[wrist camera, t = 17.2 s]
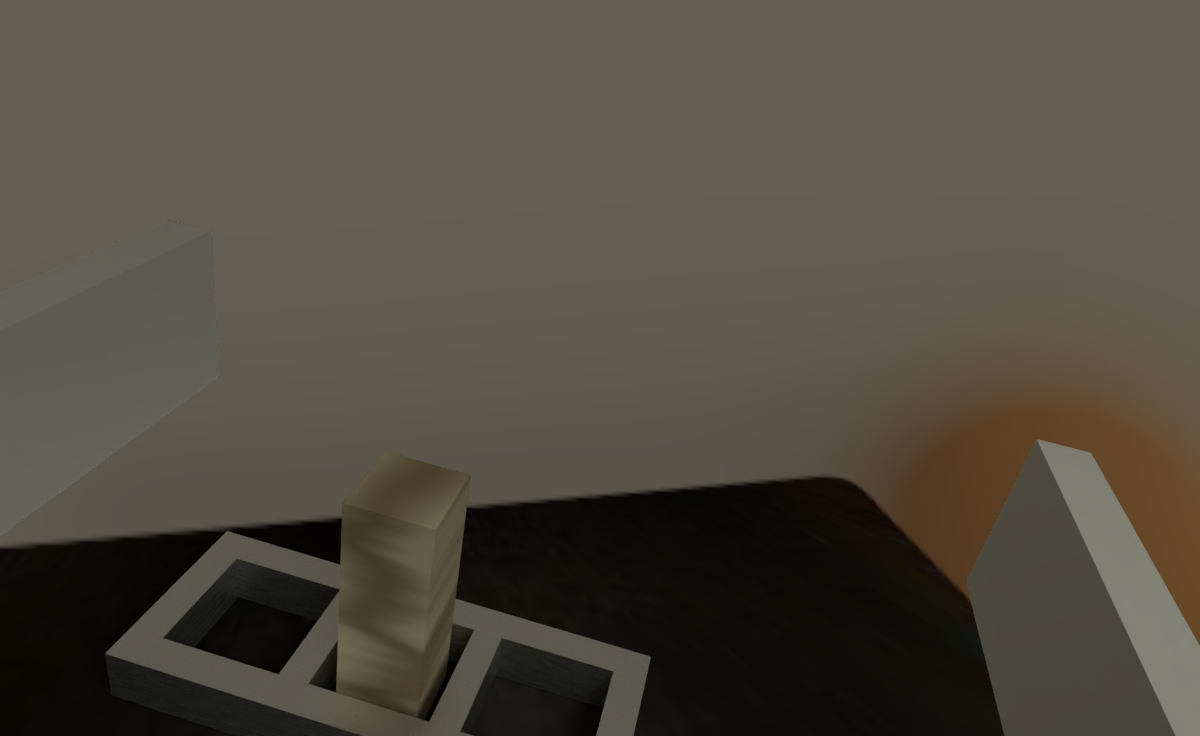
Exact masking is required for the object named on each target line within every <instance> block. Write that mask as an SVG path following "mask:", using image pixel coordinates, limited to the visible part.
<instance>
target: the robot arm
mask: <svg viewBox="0 0 1200 736" xmlns="http://www.w3.org/2000/svg"><path fill="white" fill-rule="evenodd" d="M218 377H219V363H218V342H217V321H216V302H215V280H214V261H213V239H212V230H208V229H204V228H200V227H196V226H193V225H188V224H185V223H181V222H177V221H173V220H167V221H165V222H163V223H160V224H158V225H156V226H153V227H151V228H148V229H146V230H144V231H141V232H139V233H137V234H134V235H132V236H130V237H127V238H125V239H123V240H121V241H118V242H115V243H113V244H111V245H109V246H106V247H104V248H102V249H99V250H97V251H94V252H92V253H90V254H87V255H85V256H83V257H80V258H78V259H75V260H73V261H71V262H69V263H66V264H64V265H61V266H59V267H57V268H54V269H52V270H50V271H47V272H45V273H43V274H40V275H38V276H35V277H33V278H31V279H28V280H26V281H24V282H21V283H19V284H17V285H14V286H12V287H9V288H7V289H5V290H2V291H0V536H1V535H2V534H4V533H5V532H7V531H8V530H9V529H10V528H12V527H13V526H15V525H16V524H18V523H19V522H20V521H21V520H23V519H24V518H26V517H27V516H28V515H30V514H31V513H33V512H34V511H35V510H37V509H38V508H40V507H41V506H42V505H44V504H45V503H46V502H48V501H49V500H51V499H52V498H53V497H55V496H56V495H57V494H59V493H60V492H61V491H63V490H64V489H65V488H67V487H68V486H70V485H71V484H73V483H74V482H75V481H77V480H78V479H79V478H81V477H82V476H83V475H85V474H86V473H87V472H89V471H90V470H92V469H93V468H94V467H96V466H97V465H99V464H100V463H101V462H103V461H104V460H105V459H107V458H108V457H110V456H111V455H112V454H114V453H115V452H116V451H118V450H119V449H121V448H122V447H123V446H125V445H126V444H127V443H129V442H130V441H132V440H133V439H134V438H136V437H137V436H138V435H140V434H141V433H143V432H144V431H145V430H147V429H148V428H149V427H151V426H152V425H154V424H155V423H156V422H158V421H159V420H160V419H162V418H163V417H164V416H166V415H167V414H168V413H170V412H171V411H173V410H174V409H176V408H177V407H178V406H180V405H181V404H182V403H184V402H185V401H186V400H188V399H189V398H191V397H192V396H193V395H195V394H196V393H198V392H199V391H200V390H202V389H203V388H204V387H206V386H207V385H209V384H210V383H211V382H212V381H214V380H215V379H217V378H218ZM966 584H967V588H968V592H969V596H970V600H971V604H972V608H973V612H974V616H975V620H976V624H977V628H978V632H979V636H980V640H981V644H982V648H983V652H984V655H985V659H986V663H987V667H988V671H989V675H990V679H991V683H992V687H993V691H994V695H995V699H996V703H997V707H998V711H999V715H1000V719H1001V723H1002V727H1003V731H1004V735H1005V736H1200V646H1199V644H1198V642H1197V641H1196V639H1195V637H1194V635H1193V633H1192V632H1191V630H1190V628H1189V626H1188V625H1187V623H1186V621H1185V619H1184V617H1183V616H1182V614H1181V612H1180V610H1179V609H1178V607H1177V605H1176V603H1175V602H1174V600H1173V598H1172V596H1171V594H1170V592H1169V591H1168V589H1167V587H1166V585H1165V584H1164V582H1163V580H1162V578H1161V577H1160V575H1159V573H1158V571H1157V569H1156V568H1155V566H1154V564H1153V562H1152V561H1151V559H1150V557H1149V555H1148V553H1147V552H1146V550H1145V548H1144V546H1143V545H1142V543H1141V541H1140V539H1139V538H1138V536H1137V534H1136V532H1135V530H1134V529H1133V527H1132V525H1131V523H1130V522H1129V520H1128V518H1127V516H1126V515H1125V513H1124V511H1123V509H1122V507H1121V506H1120V504H1119V502H1118V500H1117V498H1116V497H1115V495H1114V493H1113V491H1112V489H1111V488H1110V486H1109V484H1108V482H1107V481H1106V479H1105V477H1104V475H1103V473H1102V472H1101V470H1100V468H1099V467H1098V465H1097V463H1096V461H1095V459H1094V457H1093V456H1092V454H1091V453H1089V452H1085V451H1081V450H1077V449H1073V448H1069V447H1065V446H1061V445H1057V444H1053V443H1049V442H1045V441H1041V440H1036V442H1035V444H1034V446H1033V448H1032V450H1031V452H1030V454H1029V456H1028V458H1027V460H1026V462H1025V464H1024V466H1023V468H1022V470H1021V472H1020V474H1019V476H1018V478H1017V480H1016V482H1015V484H1014V486H1013V488H1012V490H1011V492H1010V494H1009V496H1008V498H1007V500H1006V502H1005V504H1004V506H1003V508H1002V510H1001V512H1000V514H999V516H998V518H997V520H996V522H995V524H994V526H993V528H992V530H991V532H990V534H989V536H988V538H987V540H986V542H985V544H984V546H983V548H982V551H981V552H980V554H979V556H978V558H977V560H976V562H975V564H974V566H973V569H972V570H971V573H970V575H969V576H968V579H967V580H966Z"/></svg>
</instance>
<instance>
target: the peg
mask: <svg viewBox="0 0 1200 736" xmlns="http://www.w3.org/2000/svg"><path fill="white" fill-rule="evenodd" d="M469 481H470V475H467V474H464V473H460V472H457V471H453V470H450V469H446V468H442V467H439V466H435V465H432V464H428V463H424V462H421V461H417V460H413V459H410V458H406V457H403V456H399V455H396V454H392V453H388V452H385V453H384V454H383V455H382V456H381V458H380V459H379V460H378V461H377V463H376V464H375V465H374V466H373V467H372V468H371V470H370V471H369V472H368V473H367V474H366V476H365V477H364V478H363V479H362V480H361V482H360V483H359V484H358V485H357V486H356V488H355V489H354V490H353V491H352V492H351V494H350V495H349V496H348V497H347V498H346V500H345V501H344V502H343V503H342V532H341V562H340V592H339V621H338V651H337V680H336V693H339V694H342V695H345V696H349V697H352V698H355V699H358V700H361V701H364V702H368V703H371V704H374V705H377V706H380V707H384V708H387V709H390V710H393V711H396V712H399V713H403V714H406V715H409V716H412V717H415V718H418V719H422V720H425V718H426V716H427V714H428V712H429V710H430V708H431V706H432V704H433V702H434V700H435V698H436V696H437V693H438V691H439V689H440V687H441V685H442V683H443V681H444V679H445V677H446V672H447V664H448V656H449V648H450V639H451V631H452V623H453V615H454V606H455V598H456V590H457V582H458V573H459V565H460V557H461V549H462V540H463V532H464V524H465V515H466V507H467V499H468V490H469Z"/></svg>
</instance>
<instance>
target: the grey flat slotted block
mask: <svg viewBox="0 0 1200 736" xmlns="http://www.w3.org/2000/svg"><path fill="white" fill-rule="evenodd" d="M339 592H340V564H336V563H333V562H329V561H326V560H323V559H319V558H316V557H313V556H309V555H306V554H302V553H299V552H296V551H292V550H289V549H286V548H282V547H279V546H275V545H272V544H269V543H265V542H262V541H259V540H255V539H252V538H248V537H245V536H242V535H238V534H235V533H232V532H228V531H227V532H226V533H225V534H224V535H223V536H222V537H221V538H220V539H219V540H218V541H217V542H216V543H215V544H214V545H213V546H212V547H211V548H210V549H209V550H208V551H207V552H206V553H205V554H204V555H203V556H202V557H201V558H200V559H199V560H198V561H197V562H196V563H195V564H194V565H193V566H192V567H191V568H190V569H189V570H188V571H187V572H186V573H185V574H184V575H183V576H182V577H181V578H180V579H179V580H178V581H177V582H176V583H175V584H174V585H173V586H172V587H171V588H170V589H169V590H168V591H167V592H166V593H165V594H164V595H163V596H162V597H161V598H160V599H159V600H158V601H157V602H156V603H155V604H154V605H153V606H152V607H151V608H150V609H149V610H148V611H147V612H146V613H145V614H144V615H143V616H142V617H141V618H140V619H139V620H138V621H137V622H136V623H135V624H134V625H133V626H132V627H131V628H130V629H129V630H128V631H127V632H126V633H125V634H124V635H123V636H122V637H121V638H120V639H119V640H118V641H117V642H116V643H115V644H114V645H113V646H112V647H111V648H110V649H109V650H108V651H107V652H106V653H105V657H106V664H107V670H108V677H109V684H110V691H111V696H114V697H117V698H121V699H124V700H127V701H130V702H133V703H136V704H139V705H142V706H145V707H148V708H151V709H154V710H157V711H160V712H164V713H167V714H170V715H173V716H176V717H179V718H182V719H185V720H188V721H191V722H194V723H197V724H200V725H203V726H207V727H210V728H213V729H216V730H219V731H222V732H225V733H228V734H231V735H234V736H473V735H470V734H471V732H472V730H473V727H474V725H475V723H476V720H477V718H478V716H479V713H480V711H481V709H482V706H483V704H484V702H485V699H486V697H487V695H488V692H489V690H490V688H491V685H492V683H493V681H494V678H495V676H498V677H502V678H505V679H508V680H511V681H515V682H518V683H521V684H524V685H528V686H531V687H534V688H538V689H541V690H544V691H547V692H551V693H554V694H557V695H560V696H564V697H567V698H570V699H574V700H577V701H580V702H583V703H587V704H590V705H593V706H597V707H600V708H603V712H602V716H601V720H600V723H599V727H598V731H597V734H596V736H633V735H634V731H635V726H636V722H637V717H638V712H639V708H640V703H641V699H642V694H643V690H644V685H645V681H646V676H647V672H648V667H649V663H650V658H651V657H650V656H647V655H643V654H640V653H637V652H633V651H630V650H627V649H623V648H620V647H616V646H613V645H610V644H606V643H603V642H600V641H596V640H593V639H589V638H586V637H583V636H579V635H576V634H573V633H569V632H566V631H562V630H559V629H556V628H552V627H549V626H546V625H542V624H539V623H535V622H532V621H529V620H525V619H522V618H519V617H515V616H512V615H508V614H505V613H502V612H498V611H495V610H492V609H488V608H485V607H481V606H478V605H475V604H471V603H468V602H465V601H461V600H458V599H455V606H454V615H453V623H452V631H451V639H450V648H449V656H448V661H449V662H452V663H456V664H457V666H456V668H455V670H454V672H453V674H452V676H451V678H450V680H449V683H448V685H447V687H446V689H445V691H444V693H443V695H442V697H441V699H440V701H439V703H438V705H437V707H436V709H435V711H434V713H433V715H432V717H431V719H430V721H429V722H428V721H425V720H422V719H418V718H415V717H412V716H409V715H406V714H403V713H399V712H396V711H393V710H390V709H387V708H384V707H380V706H377V705H374V704H371V703H368V702H364V701H361V700H358V699H355V698H352V697H349V696H345V695H342V694H339V693H336V692H333V691H330V689H331V687H332V686H333V684H334V683H335V681H336V680H337V651H338V621H339ZM238 597H239V598H243V599H246V600H249V601H253V602H256V603H259V604H262V605H266V606H269V607H272V608H275V609H279V610H282V611H285V612H289V613H292V614H295V615H298V616H302V617H305V618H308V619H312V620H315V621H317V622H316V624H315V625H314V627H313V628H312V629H311V631H310V632H309V633H308V635H307V636H306V638H305V639H304V640H303V642H302V643H301V644H300V646H299V647H298V649H297V650H296V651H295V653H294V654H293V655H292V657H291V658H290V660H289V661H288V662H287V664H286V665H285V666H284V668H283V669H282V670H281V672H280V673H279V674H275V673H272V672H269V671H266V670H263V669H260V668H256V667H253V666H250V665H247V664H244V663H241V662H237V661H234V660H231V659H228V658H225V657H221V656H218V655H215V654H212V653H209V652H206V651H202V650H199V649H196V648H194V647H195V646H196V645H197V644H198V643H199V642H200V641H201V639H202V638H203V637H204V636H205V635H206V634H207V633H208V631H209V630H210V629H211V628H212V627H213V626H214V625H215V623H216V622H217V621H218V620H219V619H220V618H221V617H222V615H223V614H224V613H225V612H226V611H227V610H228V609H229V607H230V606H231V605H232V604H233V603H234V602H235V601H236V600H237V598H238Z"/></svg>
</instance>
